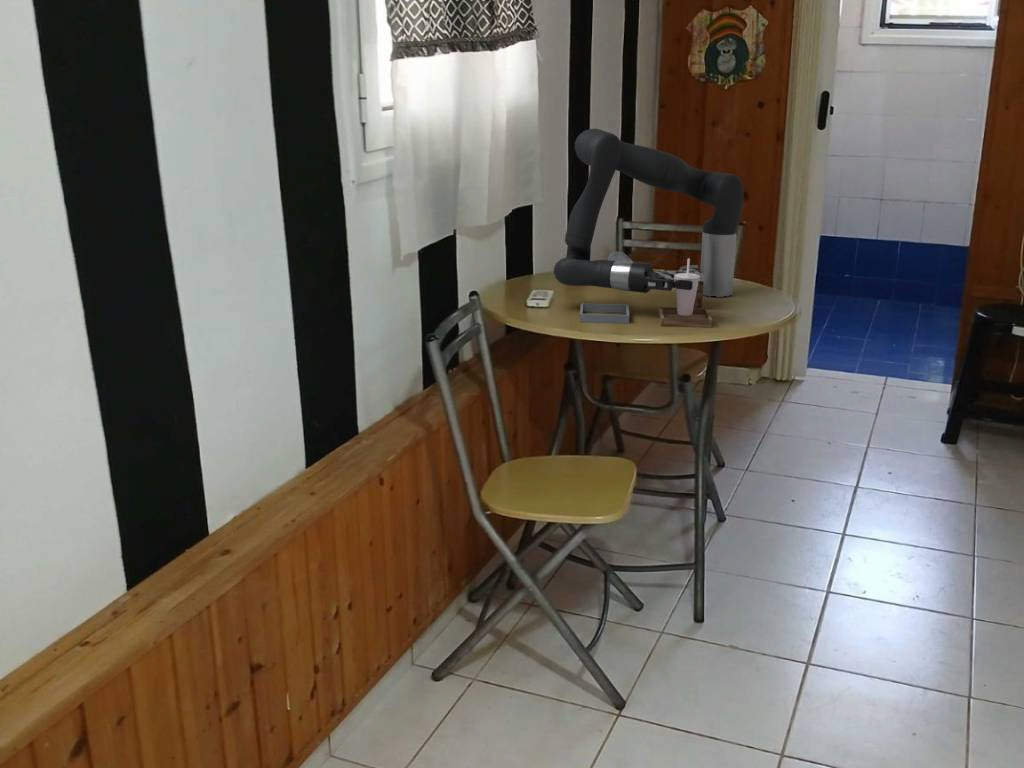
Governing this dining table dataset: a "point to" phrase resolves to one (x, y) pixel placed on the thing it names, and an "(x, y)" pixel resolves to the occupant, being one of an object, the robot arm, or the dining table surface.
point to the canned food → (618, 256)
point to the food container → (699, 294)
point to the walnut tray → (685, 317)
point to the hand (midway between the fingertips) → (695, 283)
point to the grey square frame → (604, 317)
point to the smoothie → (686, 292)
